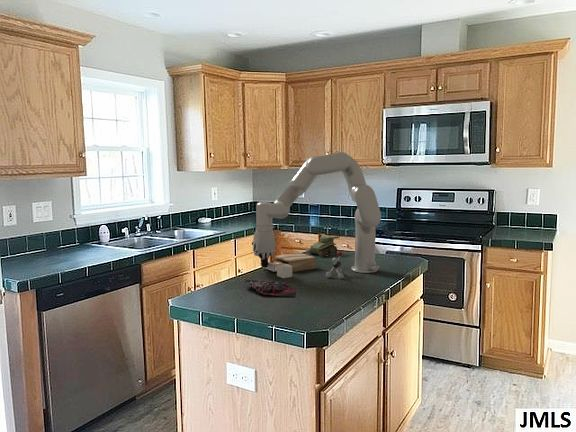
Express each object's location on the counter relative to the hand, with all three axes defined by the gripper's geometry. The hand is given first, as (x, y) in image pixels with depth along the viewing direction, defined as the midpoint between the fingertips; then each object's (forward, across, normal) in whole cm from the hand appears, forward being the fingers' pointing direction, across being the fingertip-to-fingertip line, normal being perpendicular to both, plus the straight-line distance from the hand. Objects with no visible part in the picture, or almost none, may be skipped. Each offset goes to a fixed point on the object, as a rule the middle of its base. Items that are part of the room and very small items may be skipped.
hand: (264, 266), depth 229 cm
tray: (+2, -9, 0) cm, 9 cm away
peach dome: (+1, -9, 0) cm, 9 cm away
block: (+3, -4, +12) cm, 13 cm away
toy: (+3, -52, -18) cm, 55 cm away
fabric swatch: (+3, +14, +28) cm, 32 cm away
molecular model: (+3, -24, +24) cm, 34 cm away
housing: (+3, -18, 0) cm, 18 cm away
